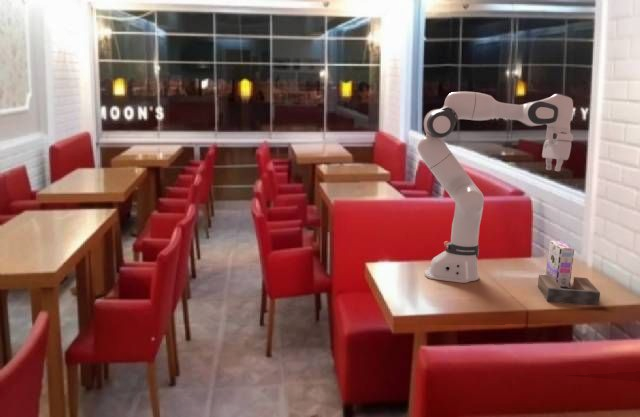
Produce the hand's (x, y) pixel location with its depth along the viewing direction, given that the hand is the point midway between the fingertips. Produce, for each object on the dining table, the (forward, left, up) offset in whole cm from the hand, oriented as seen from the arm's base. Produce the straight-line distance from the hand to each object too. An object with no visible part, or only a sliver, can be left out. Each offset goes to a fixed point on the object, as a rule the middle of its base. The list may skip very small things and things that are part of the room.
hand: (552, 170), depth 271 cm
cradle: (+7, -16, -46) cm, 49 cm away
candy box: (+7, 0, -47) cm, 47 cm away
